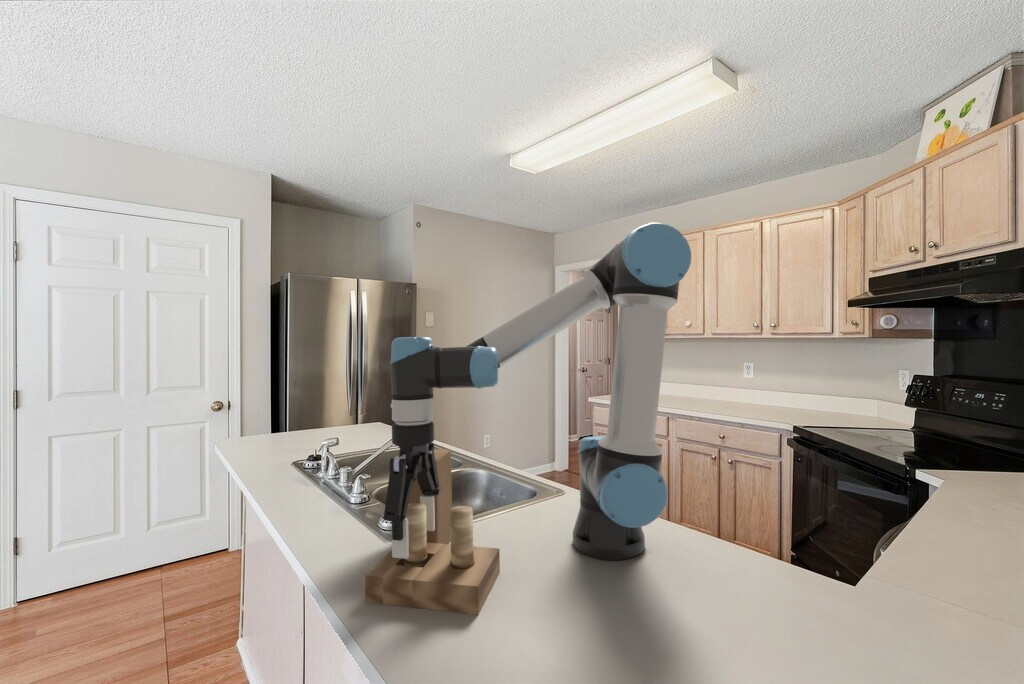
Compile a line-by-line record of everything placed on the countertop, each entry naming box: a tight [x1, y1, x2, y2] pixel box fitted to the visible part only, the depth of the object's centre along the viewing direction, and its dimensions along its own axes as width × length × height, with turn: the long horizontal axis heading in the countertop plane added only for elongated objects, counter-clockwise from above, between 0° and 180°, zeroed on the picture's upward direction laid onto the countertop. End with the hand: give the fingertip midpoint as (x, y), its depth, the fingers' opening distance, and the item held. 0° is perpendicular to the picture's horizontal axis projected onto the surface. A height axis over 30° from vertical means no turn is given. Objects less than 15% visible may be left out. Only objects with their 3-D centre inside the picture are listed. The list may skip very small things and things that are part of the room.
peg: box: [404, 503, 427, 568], centre depth 83 cm, size 4×4×14 cm
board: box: [364, 505, 501, 616], centre depth 82 cm, size 20×14×14 cm
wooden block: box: [393, 448, 453, 544], centre depth 99 cm, size 10×10×20 cm
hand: (415, 542), depth 83 cm, fingers open, 11 cm apart
